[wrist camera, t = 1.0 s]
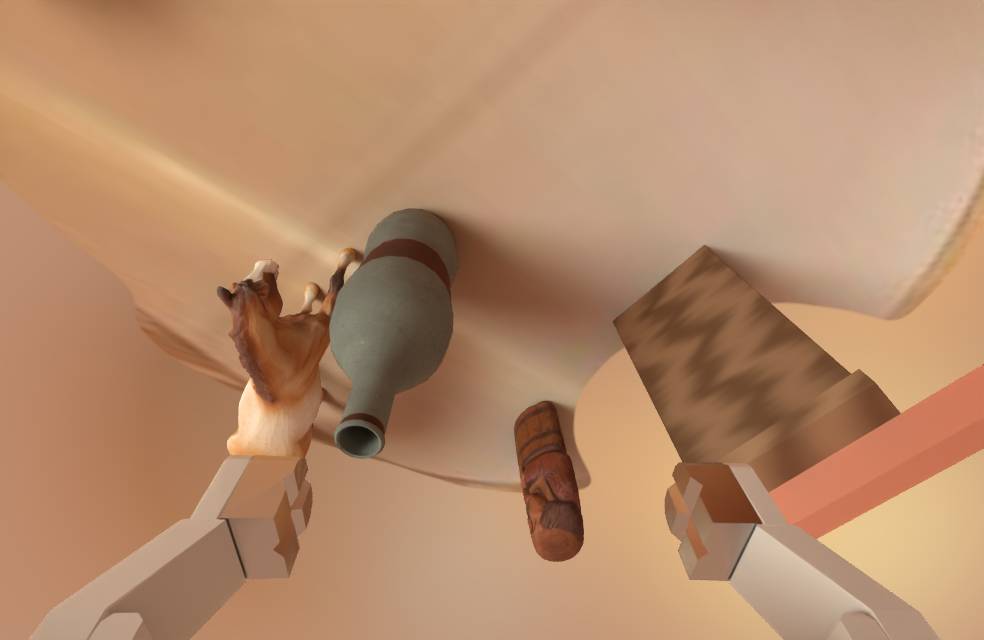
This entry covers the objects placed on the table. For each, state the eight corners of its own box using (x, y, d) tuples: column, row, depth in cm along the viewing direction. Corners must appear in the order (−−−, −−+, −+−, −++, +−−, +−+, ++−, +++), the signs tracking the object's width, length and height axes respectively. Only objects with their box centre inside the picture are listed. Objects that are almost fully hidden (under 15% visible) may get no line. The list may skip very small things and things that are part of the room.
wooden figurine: (510, 401, 64) (521, 519, 48) (559, 395, 63) (587, 511, 48) (519, 467, 69) (532, 591, 54) (564, 461, 69) (591, 584, 53)
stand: (705, 239, 53) (875, 382, 31) (754, 295, 57) (939, 460, 34) (606, 321, 58) (690, 499, 36) (657, 368, 62) (763, 557, 39)
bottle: (354, 240, 52) (233, 437, 26) (415, 183, 50) (348, 338, 23) (417, 299, 56) (366, 523, 30) (477, 248, 53) (479, 447, 27)
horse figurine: (308, 195, 50) (214, 281, 32) (382, 222, 52) (333, 317, 34) (260, 418, 64) (176, 565, 46) (320, 434, 65) (262, 582, 47)
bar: (1030, 336, 29) (1080, 362, 27) (1044, 360, 30) (1094, 388, 28) (719, 522, 37) (737, 555, 34) (738, 537, 38) (756, 571, 35)
